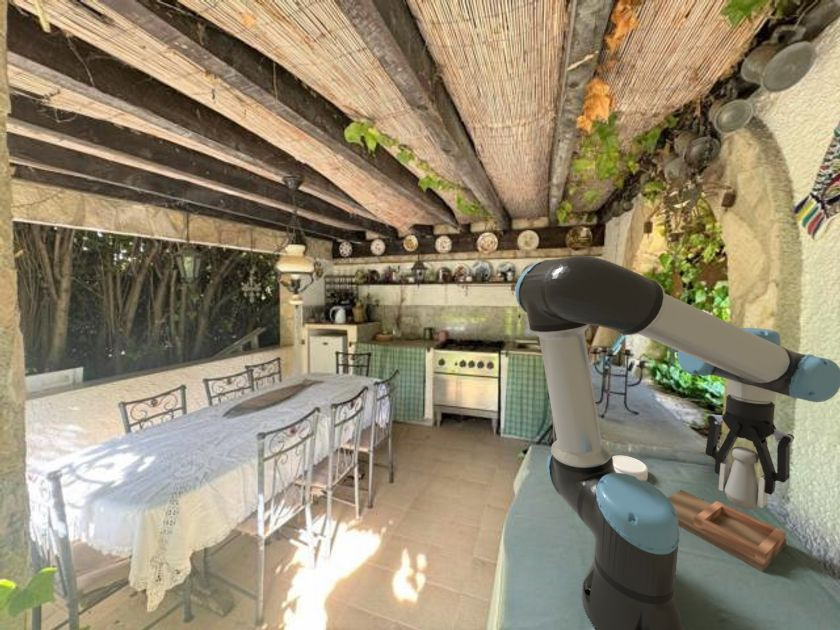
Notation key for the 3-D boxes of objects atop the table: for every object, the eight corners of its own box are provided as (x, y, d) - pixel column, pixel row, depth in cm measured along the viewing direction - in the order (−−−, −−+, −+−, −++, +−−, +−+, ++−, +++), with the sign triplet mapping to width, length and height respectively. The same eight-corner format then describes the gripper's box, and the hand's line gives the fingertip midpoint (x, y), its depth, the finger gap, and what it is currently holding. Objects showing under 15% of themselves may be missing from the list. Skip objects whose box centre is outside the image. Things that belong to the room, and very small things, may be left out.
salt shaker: (767, 512, 71) (772, 456, 69) (740, 512, 71) (745, 456, 70) (741, 495, 76) (745, 443, 75) (716, 495, 77) (720, 443, 75)
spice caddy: (762, 571, 66) (764, 556, 65) (653, 511, 83) (654, 499, 83) (785, 545, 72) (787, 530, 72) (680, 494, 90) (681, 482, 90)
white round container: (654, 477, 99) (654, 466, 98) (636, 487, 94) (637, 476, 93) (620, 461, 107) (620, 451, 107) (602, 470, 102) (603, 460, 102)
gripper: (821, 408, 65) (810, 516, 67) (704, 384, 81) (698, 471, 83) (810, 416, 61) (798, 529, 63) (690, 389, 78) (684, 479, 80)
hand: (741, 496), depth 73 cm, fingers closed on salt shaker, 6 cm apart
